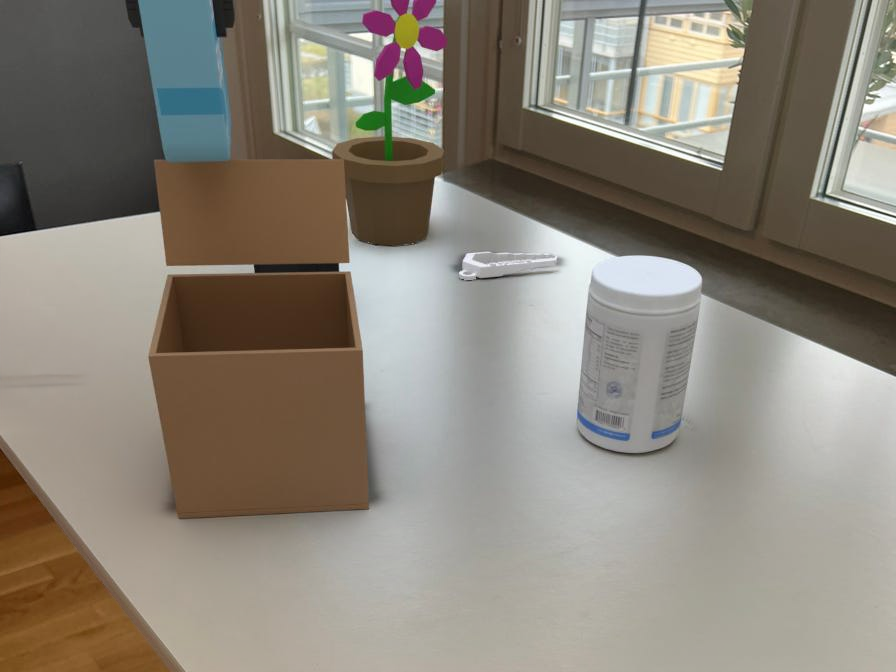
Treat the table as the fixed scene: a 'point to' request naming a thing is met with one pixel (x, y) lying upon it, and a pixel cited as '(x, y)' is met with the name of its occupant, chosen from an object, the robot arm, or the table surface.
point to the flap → (253, 212)
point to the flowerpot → (394, 139)
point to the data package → (187, 79)
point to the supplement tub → (637, 352)
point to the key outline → (502, 264)
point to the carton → (261, 393)
